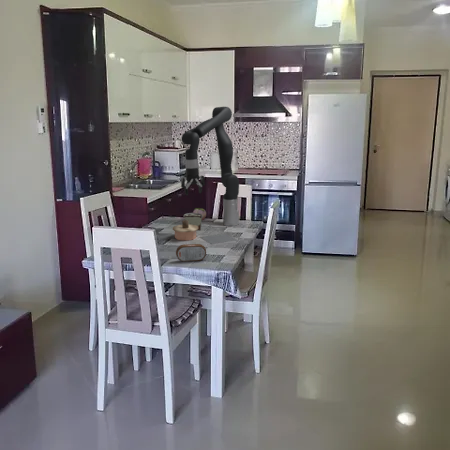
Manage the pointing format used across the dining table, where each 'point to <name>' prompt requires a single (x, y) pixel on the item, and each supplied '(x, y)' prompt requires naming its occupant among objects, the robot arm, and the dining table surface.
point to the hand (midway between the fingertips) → (193, 194)
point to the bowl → (185, 235)
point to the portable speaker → (191, 252)
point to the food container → (194, 219)
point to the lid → (185, 227)
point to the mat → (218, 238)
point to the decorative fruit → (200, 212)
